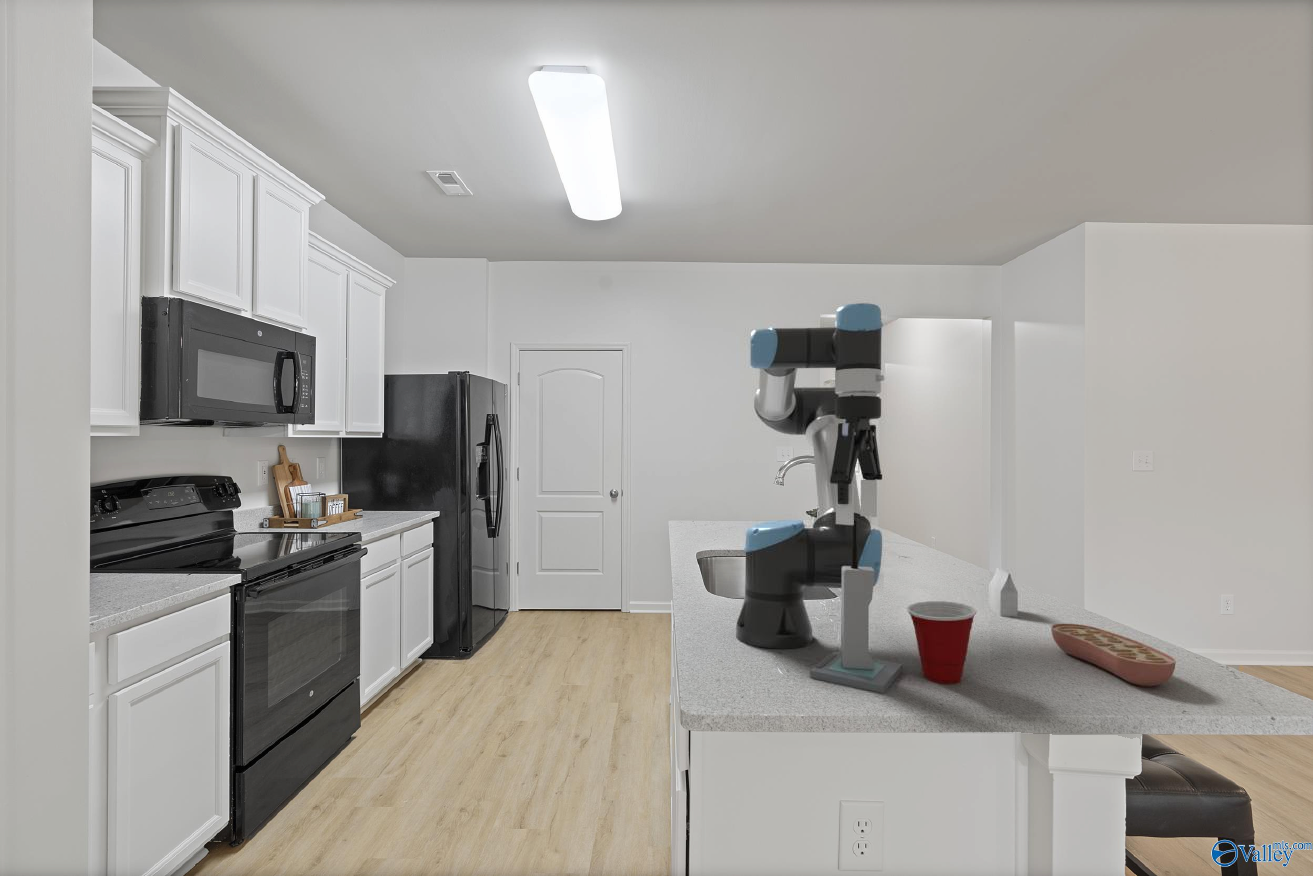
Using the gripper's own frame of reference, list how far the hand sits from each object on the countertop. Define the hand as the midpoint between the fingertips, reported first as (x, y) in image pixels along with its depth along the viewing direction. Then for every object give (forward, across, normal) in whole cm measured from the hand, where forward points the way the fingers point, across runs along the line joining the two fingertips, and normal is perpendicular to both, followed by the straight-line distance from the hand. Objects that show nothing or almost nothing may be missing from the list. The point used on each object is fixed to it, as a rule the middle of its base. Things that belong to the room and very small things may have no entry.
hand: (857, 520), depth 111 cm
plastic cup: (+26, +6, -12) cm, 30 cm away
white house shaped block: (+27, +58, -16) cm, 66 cm away
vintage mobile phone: (+25, 0, 0) cm, 25 cm away
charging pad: (+26, 0, 0) cm, 26 cm away
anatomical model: (+27, +28, -36) cm, 53 cm away
